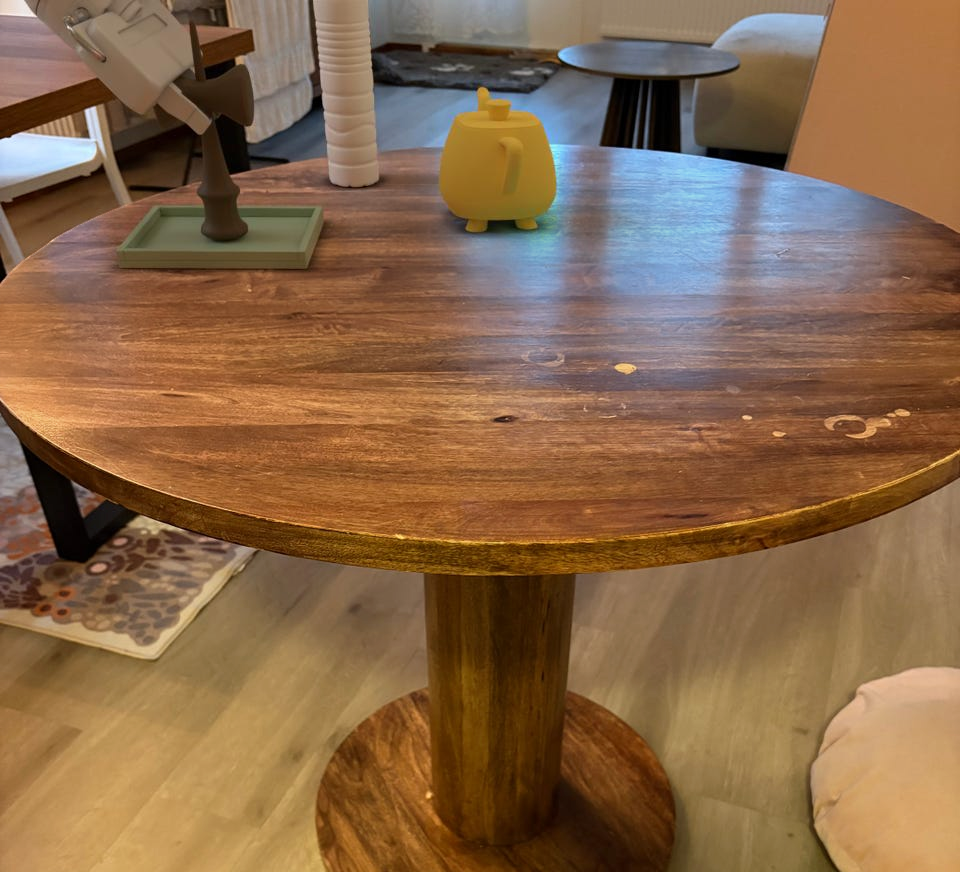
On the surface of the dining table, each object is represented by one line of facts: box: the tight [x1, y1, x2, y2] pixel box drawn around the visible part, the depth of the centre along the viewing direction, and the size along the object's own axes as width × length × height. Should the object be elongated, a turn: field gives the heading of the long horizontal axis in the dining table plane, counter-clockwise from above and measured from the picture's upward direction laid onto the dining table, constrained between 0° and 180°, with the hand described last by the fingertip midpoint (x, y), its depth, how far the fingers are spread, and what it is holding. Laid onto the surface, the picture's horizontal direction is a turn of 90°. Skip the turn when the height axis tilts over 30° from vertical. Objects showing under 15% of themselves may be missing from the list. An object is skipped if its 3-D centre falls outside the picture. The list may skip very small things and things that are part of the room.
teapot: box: [438, 86, 558, 233], centre depth 105 cm, size 13×20×12 cm
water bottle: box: [312, 0, 380, 188], centre depth 112 cm, size 9×6×25 cm
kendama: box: [152, 19, 255, 240], centre depth 94 cm, size 6×10×20 cm, turn 93°
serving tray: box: [115, 204, 325, 270], centre depth 101 cm, size 20×16×2 cm
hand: (214, 120), depth 94 cm, fingers closed on kendama, 5 cm apart
